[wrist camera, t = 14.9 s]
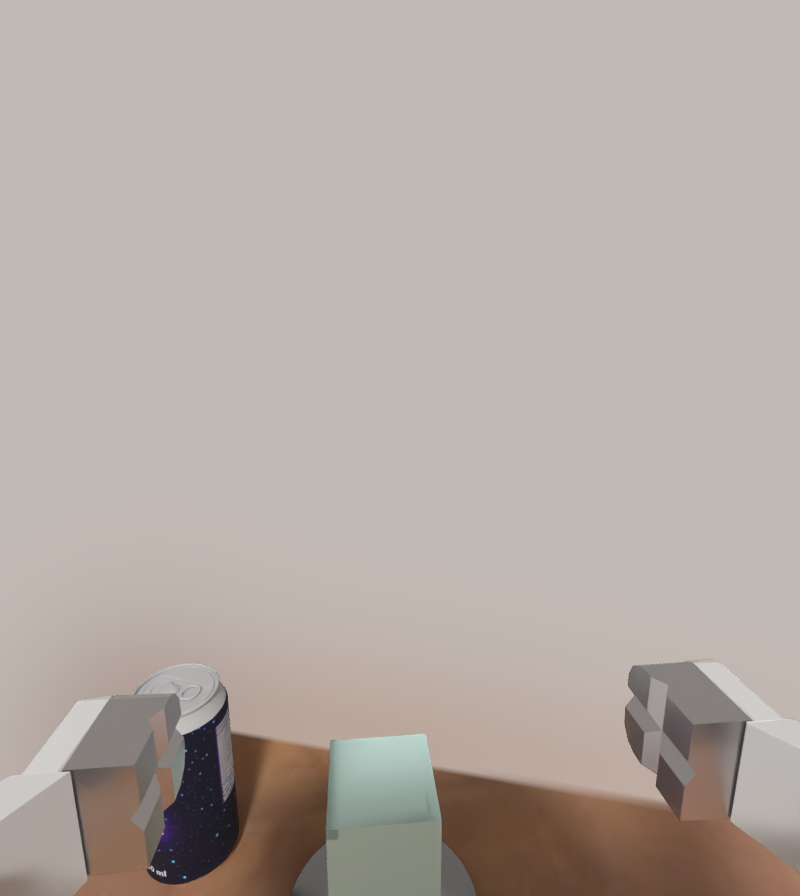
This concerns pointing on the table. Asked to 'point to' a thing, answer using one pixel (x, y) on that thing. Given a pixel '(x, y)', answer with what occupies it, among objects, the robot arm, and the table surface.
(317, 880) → the post
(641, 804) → the table surface
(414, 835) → the mint green lidded box
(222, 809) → the beverage can
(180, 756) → the robot arm
